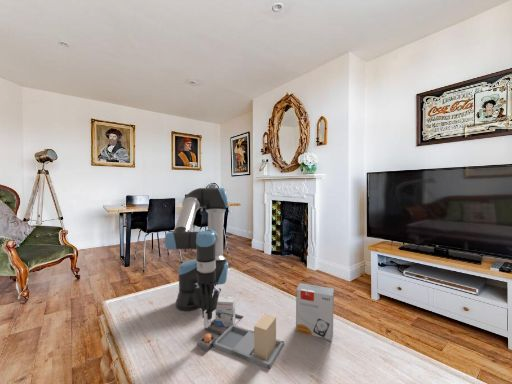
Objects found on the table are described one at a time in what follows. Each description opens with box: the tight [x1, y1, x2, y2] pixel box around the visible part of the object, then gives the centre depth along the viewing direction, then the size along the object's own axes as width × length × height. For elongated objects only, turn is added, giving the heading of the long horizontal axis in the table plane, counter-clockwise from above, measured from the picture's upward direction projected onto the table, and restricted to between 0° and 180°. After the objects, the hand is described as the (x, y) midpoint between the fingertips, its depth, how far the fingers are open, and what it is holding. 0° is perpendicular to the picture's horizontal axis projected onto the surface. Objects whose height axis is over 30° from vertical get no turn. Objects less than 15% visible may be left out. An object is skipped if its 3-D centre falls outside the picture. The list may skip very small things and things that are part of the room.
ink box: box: [215, 296, 236, 328], centre depth 113 cm, size 9×5×12 cm, turn 84°
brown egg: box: [203, 333, 212, 343], centre depth 98 cm, size 3×3×4 cm
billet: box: [253, 313, 277, 361], centre depth 92 cm, size 5×9×12 cm, turn 152°
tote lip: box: [203, 313, 245, 336], centre depth 113 cm, size 12×16×1 cm
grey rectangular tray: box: [212, 324, 285, 370], centre depth 96 cm, size 25×14×2 cm, turn 62°
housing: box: [196, 332, 219, 352], centre depth 98 cm, size 6×6×2 cm
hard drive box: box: [295, 282, 335, 342], centre depth 105 cm, size 16×8×20 cm, turn 68°
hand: (207, 325), depth 98 cm, fingers closed
